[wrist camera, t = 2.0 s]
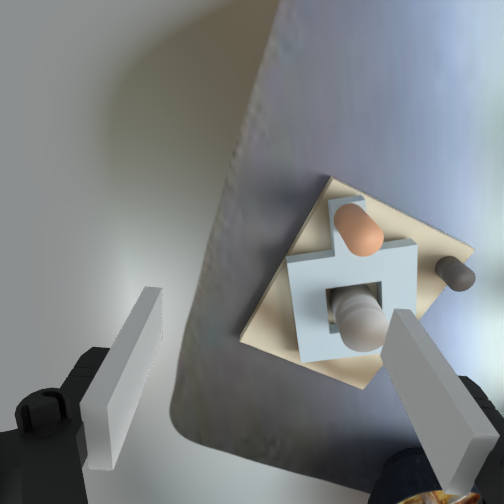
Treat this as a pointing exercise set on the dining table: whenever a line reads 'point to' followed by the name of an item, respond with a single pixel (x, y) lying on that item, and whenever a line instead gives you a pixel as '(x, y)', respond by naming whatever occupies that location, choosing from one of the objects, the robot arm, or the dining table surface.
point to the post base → (319, 239)
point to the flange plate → (349, 277)
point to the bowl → (414, 482)
